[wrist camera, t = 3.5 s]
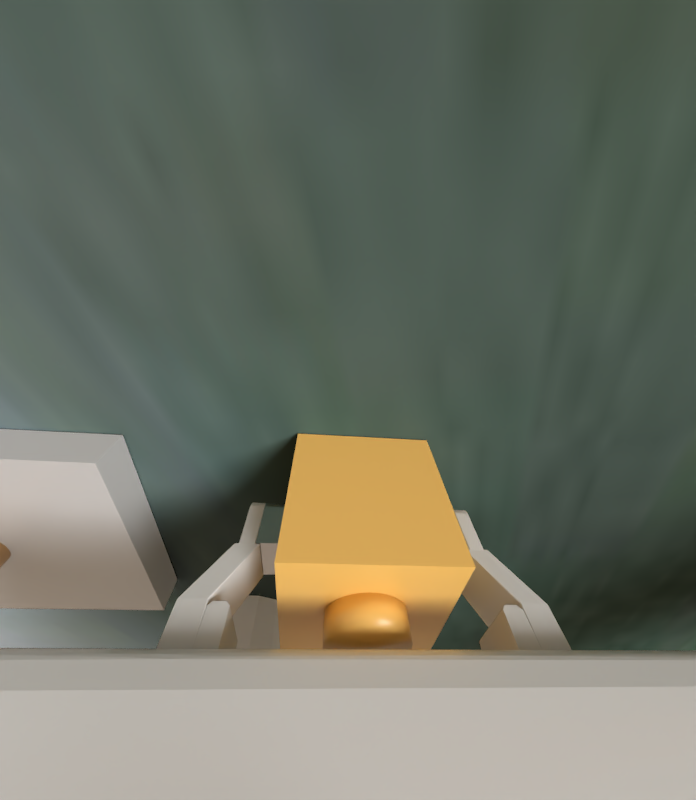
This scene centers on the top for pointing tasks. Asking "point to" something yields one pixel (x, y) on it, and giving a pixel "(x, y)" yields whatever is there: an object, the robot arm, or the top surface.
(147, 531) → the flat gray block
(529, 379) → the top surface
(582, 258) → the top surface
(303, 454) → the cube with dome knob
